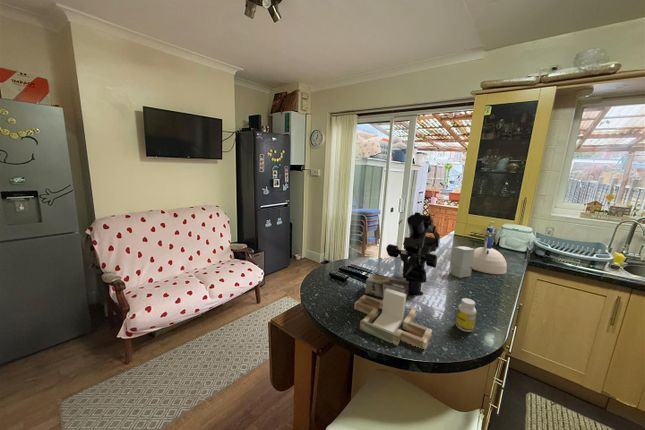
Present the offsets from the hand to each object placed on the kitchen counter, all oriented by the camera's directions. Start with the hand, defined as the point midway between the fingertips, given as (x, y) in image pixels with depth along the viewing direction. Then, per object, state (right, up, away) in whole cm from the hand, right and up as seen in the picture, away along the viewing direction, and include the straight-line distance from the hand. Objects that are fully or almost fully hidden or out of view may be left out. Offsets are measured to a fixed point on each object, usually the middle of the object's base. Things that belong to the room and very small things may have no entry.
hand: (404, 274), depth 96 cm
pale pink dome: (+62, -8, +50) cm, 80 cm away
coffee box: (-11, -7, +15) cm, 20 cm away
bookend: (-9, -15, -9) cm, 20 cm away
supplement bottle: (+17, -16, -9) cm, 25 cm away
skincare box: (+41, -9, +37) cm, 56 cm away
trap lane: (-8, -14, -8) cm, 18 cm away
